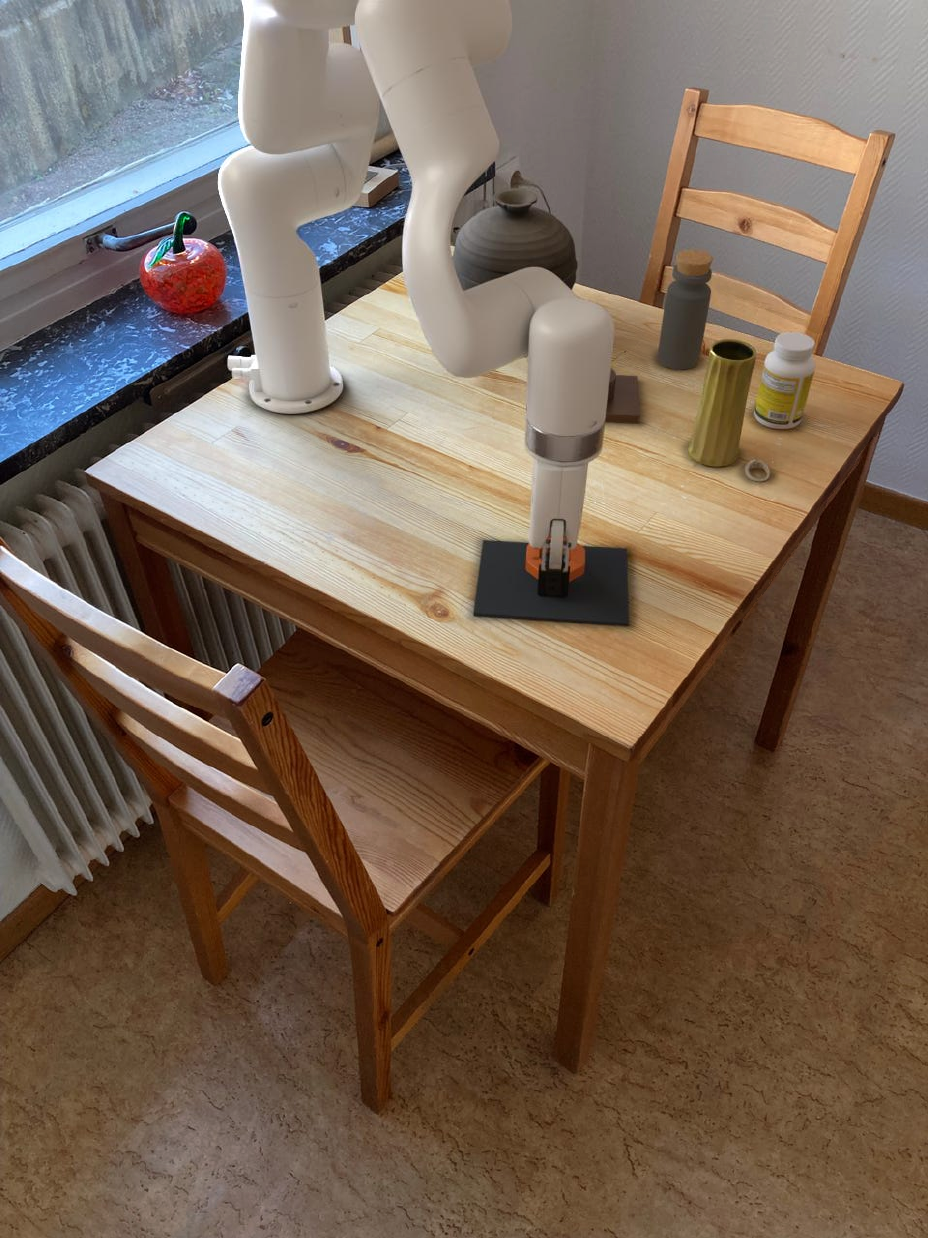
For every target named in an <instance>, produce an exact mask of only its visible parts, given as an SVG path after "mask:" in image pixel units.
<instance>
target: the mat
mask: <svg viewBox="0 0 928 1238" xmlns="http://www.w3.org/2000/svg"><path fill="white" fill-rule="evenodd" d="M528 544H529V542H527V541H526V542H523V541H509V540H508V541H506V540H505V541H504V540H492V539H491V540H489V539H483V540H482V546H481V554H480V559H479V560H480V561H479V568H478V575H477V582H476V583H477V584H476V590H475V599H474V606H473V613H472V616H473V617H483V618H484V617H486V618H499V619H500V618H501V619H518V620H529V621H530V620H532V621H544V622H545V621H546V622H562V623H577V624H591V625H593V624H595V625H609V626H621V627H622V626H623V627H629V626H630V615H629V613H630V612H629V577H628V576H629V575H628V573H629V572H628V549H627V548H624V547H606V546H590V545H581V546H582V547H584V549H585V567H584V573H583V575H581V576H579V577H577V578H576V579H574V580H572V581H571V582H569V588H568V596H567V597H566V598H560V597H544V596H539V595H538V594H537V590H538V579H537V578H535V577H534V576H533V575H531V574H530V573H529V572H527V571H526V569H525V567H526V552H527V546H528ZM547 558H550V555H548V554H547ZM540 559H541V560H542V558H540ZM562 559H564V555H562ZM569 561H571V560H569Z"/></svg>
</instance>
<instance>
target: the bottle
mask: <svg viewBox="0 0 928 1238" xmlns="http://www.w3.org/2000/svg"><path fill="white" fill-rule="evenodd" d="M713 261H714V258H713V255H711V254H710V253H709V252H707V251H704V250H700V249H684V250H681V251H679V252H678V253H677V254H676V264H675V265H674V266H673V269H672V274H671V275H672V278H673V281H671V282H670V283H669V284H668V286H667V290H666V296H665V302H664V309H663V314H662V315H663V316H662V323H661V329H660V334H659V335H660V336H659V341H658V342H659V343H658V352H657V361H658V362H659V363H660V364H661V365H662V366H664V367H666V368H669V369H672V370H681V371H683V370H690V369H693V368H695V367H696V366H697V365H698V364H699V363H700V357H701V354H702V348H703V347H702V346H703V341H704V336H705V330H706V325H707V319H708V313H709V307H710V302H711V297H712V288H711V287H710V286H709V285H708V283H709V282H710V281H711V280H712V275H713V270H712V269H711V265H712V263H713Z"/></svg>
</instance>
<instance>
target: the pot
mask: <svg viewBox="0 0 928 1238" xmlns="http://www.w3.org/2000/svg"><path fill="white" fill-rule="evenodd" d="M492 201H493V203H494V204H495V206H492V207H487V208H485V209H481V210H480V211H478V212H477V213H476V214H475V215H473V216H472V217H471V218H469V220H468V221H466V223H465V224H464V225H463V226H462V227H461V229H460V231H459V232H458V233H457V236H456V240H455V242H454V248H453V254H452V260H453V264H454V268H455V271H456V274H457V276H458V279H459V282H460V284H461V287H462V289H463V291H465V290H468V289H470V288H473V287H475V286H478V285H481V284H483V283H486V282H488V281H491V280H494V279H497V278H500V277H503V276H505V275H508V274H510V273H513V272H515V271H518V270H521V269H524V268H528V267H541V268H544V269H546V270H549V271H550V272H552V273H553V274H555V275H556V276H557V277H558V278H559V279H560V280H562V281H563V282H564V283H565V284H566V285H567V286H568V287H569V288H570V289H571V290H572V291H573V288H574V286H575V284H576V281H577V270H578V267H579V265H578V260H577V254H576V253H577V252H576V246H575V241H574V238H573V235H572V234H571V232H570V230H569V228H568V227H567V226H566V225H565V224H564V223H563V222H562V221H561V220H559V219H558V217H556V216H555V215H553V214H552V213H551V212H548V211H547V210H545V209H542V208H539V207H536V206H533V205H534V204H536V203H537V202H538V195H537V193H535V192H533V191H530V190H528V189H525V188H521V187H512V188H511V187H508V188H503V189H500V190H497V191H496V192H495V193H494V194H493V197H492Z"/></svg>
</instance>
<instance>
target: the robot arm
mask: <svg viewBox="0 0 928 1238" xmlns="http://www.w3.org/2000/svg"><path fill="white" fill-rule="evenodd" d="M241 2H242V6H243V17H244V21H243V23H244V24H243V25H244V27H243V34H242V35H243V36H242V47H241V48H242V49H241V60H240V76H239V86H238V120H239V125H240V130H241V132H242V134H243V136H244V138H245V140H246V141H247V143H248V144H249V145H250V146H247V147H244V148H242V149H240V150H237V151H236V152H234V153H232V154H231V155H230V156H229V157H227V158H226V160H225V161H224V162H223V163H222V165H221V167H220V169H219V172H218V178H217V179H218V181H217V185H218V191H219V196H220V199H221V203H222V206H223V208H224V211H225V214H226V216H227V220H228V223H229V226H230V229H231V232H232V235H233V239H234V243H235V246H236V251H237V256H238V261H239V265H240V272H241V277H242V283H243V288H244V293H245V300H246V305H247V312H248V318H249V323H250V330H251V336H252V342H253V349H254V354H251V356H249V357H248V356H247V357H246V356H239V355H238V356H237V355H228V357H227V361H226V362H227V369H228V370H229V371H231V377H232V379H236V380H237V379H239V380H243V379H248V380H249V385H248V390H249V396H250V399H251V400H252V401H253V402H254V404H255V405H257V406H258V407H260V408H262V409H264V410H265V411H269V412H273V413H279V414H287V415H293V414H295V415H296V414H304V413H310V412H314V411H317V410H320V409H322V408H325V407H327V406H329V405H330V404H332V403H334V402H335V401H336V400H337V399H338V398H339V397H340V396H341V394H342V392H343V390H344V380H343V375H342V374H341V372H340V371H339V370H338V369H337V368H336V367H334V366H333V365H331V364H330V356H329V355H330V354H329V347H328V346H329V345H328V338H327V329H326V321H325V320H326V319H325V311H324V302H323V292H322V284H321V283H322V282H321V275H320V266H319V263H318V259H317V257H316V254H315V252H314V251H313V249H312V248H311V247H310V246H309V244H307V243H306V242H305V241H304V240H303V239H301V237H300V236H299V234H298V232H297V230H298V229H299V228H300V227H301V226H303V225H306V224H309V223H310V222H313V221H317V220H320V219H322V218H327V217H329V216H333V215H336V214H339V213H341V212H344V211H346V210H348V209H350V208H352V207H353V206H354V205H355V204H356V203H358V201H359V200H360V197H361V196H362V193H363V190H364V187H365V183H366V179H367V175H368V170H369V166H370V162H371V156H372V153H373V148H374V142H375V138H376V133H377V129H378V125H379V124H378V123H379V118H380V108H381V107H380V106H381V105H382V107H383V109H384V112H385V114H386V117H387V119H388V122H389V125H390V127H391V130H392V132H393V135H394V137H395V141H396V143H397V145H398V148H399V151H400V153H401V156H402V158H403V161H404V163H405V165H406V169H407V170H408V173H409V177H410V180H411V194H410V198H409V203H408V206H407V210H406V213H405V218H404V222H403V223H404V224H403V230H402V242H401V243H402V244H401V256H402V257H401V258H402V259H401V260H402V273H403V280H404V285H405V289H406V293H407V296H408V298H409V302H410V304H411V306H412V309H413V311H414V313H415V316H416V319H417V322H418V323H419V326H420V329H421V331H422V334H423V336H424V338H425V340H426V343H427V344H428V346H429V348H430V350H431V352H432V354H433V355H434V357H435V359H436V360H437V361H438V363H439V364H440V365H441V366H442V367H443V368H444V369H445V370H446V371H447V372H449V374H452V375H453V376H455V377H458V378H463V379H473V378H478V377H481V376H484V375H486V374H489V373H491V372H493V371H495V370H498V369H500V368H503V367H505V366H507V365H509V364H512V363H514V362H517V361H519V360H520V359H524V358H527V374H526V395H525V396H526V397H525V420H524V421H525V423H524V441H523V442H524V443H523V444H524V448H525V450H526V453H528V454H529V456H531V457H532V458H533V460H532V469H531V470H532V472H531V486H530V487H531V488H530V506H529V507H530V509H529V526H528V527H529V529H528V530H529V531H528V543H529V545H530V546H531V547H532V548H541V547H543V549H542V564H539V574H538V590H537V594H538V595H539V596H544V597H560V598H566V597H567V596H568V588H569V577H570V566H568V563H569V550H570V548H571V550H573V549H574V548H575V547H576V546H577V543H578V540H579V534H580V528H581V524H582V516H583V509H584V503H585V495H586V486H587V478H588V468H589V463H591V462H593V461H594V460H595V459H597V458H598V457H599V456H600V454H602V453H601V452H602V451H603V446H604V436H605V426H606V422H605V417H606V408H607V399H608V390H609V380H610V371H611V368H612V360H613V353H614V343H615V327H616V326H615V321H614V319H613V316H612V315H611V313H610V312H609V311H608V310H607V308H605V307H604V306H602V305H600V304H599V303H597V302H596V301H592V300H589V299H585V298H581V297H580V296H578V294H576V293H575V292H574V291H573V289H572V290H571V289H570V288H569V287H568V286H567V285H566V284H565V283H564V282H563V281H562V280H560V279H559V278H558V277H557V276H556V275H555V274H553V273H552V272H550V271H549V270H546V269H544V268H541V267H528V268H524V269H521V270H518V271H515V272H513V273H510V274H508V275H505V276H503V277H500V278H497V279H494V280H491V281H488V282H486V283H483V284H481V285H478V286H475V287H473V288H470V289H468V290H465V291H463V289H462V287H461V284H460V282H459V279H458V276H457V274H456V271H455V268H454V264H453V260H452V256H453V254H452V248H451V242H452V241H451V239H452V238H451V234H452V227H453V221H454V219H455V215H456V212H457V209H458V207H459V205H460V202H461V201H462V199H463V197H464V195H465V194H466V193H467V191H468V190H469V188H470V187H471V186H472V184H474V183H475V182H476V181H477V180H478V179H479V178H480V177H481V176H482V175H483V174H484V173H485V172H486V171H487V170H488V169H489V168H490V167H491V166H492V165H493V163H494V162H495V160H496V158H497V157H498V155H499V151H500V141H499V136H498V134H497V132H496V129H495V126H494V124H493V122H492V119H491V116H490V113H489V110H488V108H487V106H486V103H485V100H484V97H483V95H482V91H481V89H480V87H479V83H478V80H477V78H476V76H475V75H476V74H475V72H474V69H473V68H477V67H481V66H485V65H488V64H490V63H493V62H496V60H498V59H499V58H500V57H501V56H502V55H504V53H505V52H506V50H507V48H508V46H509V43H510V41H511V37H512V30H513V18H512V17H513V14H512V8H511V4H510V1H509V0H241ZM350 26H354V27H355V35H356V38H357V41H358V45H359V47H360V49H359V48H357V47H356V46H354V45H353V44H350V43H345V42H330V30H335V29H342V28H345V27H350ZM380 104H381V105H380ZM548 536H551V540H547V538H548ZM563 537H566V538H567V539H566V541H563ZM547 549H550V554H548V555H550V558H547ZM563 549H564V559H562V550H563Z"/></svg>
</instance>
